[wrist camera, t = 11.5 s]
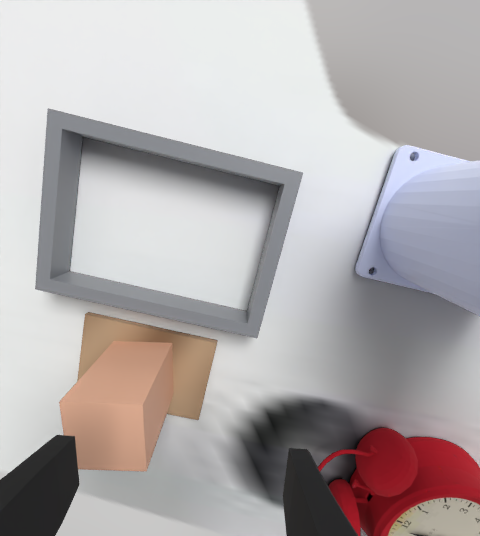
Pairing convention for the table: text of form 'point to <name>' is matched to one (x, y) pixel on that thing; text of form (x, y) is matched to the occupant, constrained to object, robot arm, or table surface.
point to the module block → (120, 406)
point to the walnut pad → (183, 345)
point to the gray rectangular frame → (128, 296)
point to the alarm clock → (409, 487)
